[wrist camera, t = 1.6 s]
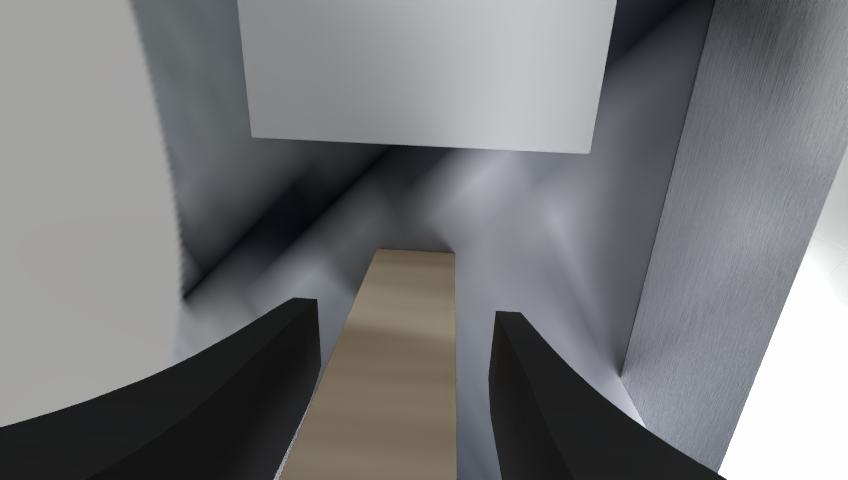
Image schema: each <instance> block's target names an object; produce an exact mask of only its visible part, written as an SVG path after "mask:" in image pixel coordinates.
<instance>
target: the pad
mask: <svg viewBox="0 0 848 480" xmlns="http://www.w3.org/2000/svg"><path fill="white" fill-rule="evenodd" d="M616 3H617V0H237V6H238V15H239V25H240V34H241V43H242V53H243V62H244V72H245V81H246V90H247V100H248V109H249V118H250V128H251V137H252V138H272V139H293V140H313V141H334V142H354V143H375V144H395V145H416V146H436V147H457V148H477V149H498V150H518V151H539V152H559V153H580V154H590V149H591V143H592V138H593V132H594V126H595V121H596V115H597V110H598V104H599V98H600V93H601V87H602V81H603V76H604V70H605V65H606V59H607V53H608V48H609V42H610V36H611V31H612V25H613V20H614V14H615V8H616Z"/></svg>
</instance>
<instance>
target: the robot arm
mask: <svg viewBox="0 0 848 480" xmlns="http://www.w3.org/2000/svg"><path fill="white" fill-rule="evenodd" d="M320 368H321V355H320V338H319V322H318V305H317V299H306V298H292V299H290V300H288V301H286V302H285V303H283V304H281V305H280V306H278V307H276V308H275V309H273V310H271V311H270V312H268V313H267V314H265V315H263V316H262V317H260V318H258V319H257V320H255V321H254V322H252V323H250V324H249V325H247V326H245V327H244V328H242V329H240V330H239V331H237V332H236V333H234V334H232V335H230V336H229V337H227V338H225V339H223V340H221V341H220V342H218V343H216V344H214V345H212V346H210V347H209V348H207V349H205V350H203V351H201V352H200V353H198V354H196V355H194V356H192V357H190V358H188V359H186V360H184V361H182V362H180V363H178V364H176V365H174V366H172V367H169V368H167V369H165V370H163V371H161V372H159V373H156V374H154V375H152V376H150V377H147V378H145V379H143V380H140V381H138V382H135V383H133V384H130V385H127V386H125V387H122V388H119V389H117V390H114V391H112V392H109V393H106V394H104V395H101V396H99V397H96V398H93V399H91V400H88V401H85V402H82V403H79V404H76V405H73V406H70V407H67V408H64V409H61V410H58V411H55V412H52V413H49V414H45V415H42V416H38V417H35V418H32V419H29V420H25V421H22V422H18V423H15V424H12V425H8V426H4V427H0V480H273V479H274V477H275V475H276V473H277V471H278V468H279V466H280V464H281V462H282V460H283V458H284V456H285V454H286V451H287V449H288V447H289V445H290V443H291V441H292V439H293V437H294V435H295V432H296V430H297V428H298V426H299V424H300V422H301V420H302V417H303V415H304V413H305V411H306V409H307V407H308V404H309V402H310V400H311V397H312V393H313V390H314V387H315V384H316V381H317V378H318V374H319V371H320ZM488 379H489V398H490V414H491V420H492V426H493V432H494V437H495V443H496V449H497V454H498V460H499V465H500V471H501V476H502V480H729V479H727V478H725V477H724V476H722V475H720V474H718V473H717V472H715V471H713V470H711V469H710V468H708V467H706V466H704V465H702V464H701V463H699V462H697V461H696V460H694V459H692V458H691V457H689V456H687V455H686V454H684V453H682V452H681V451H679V450H678V449H676V448H674V447H673V446H671V445H670V444H668V443H667V442H665V441H664V440H662V439H661V438H659V437H658V436H656V435H655V434H653V433H652V432H650V431H649V430H647V429H646V428H644V427H643V426H641V425H640V424H639V423H637V422H636V421H634V420H633V419H632V418H630V417H629V416H628V415H626V414H625V413H624V412H622V411H621V410H620V409H619V408H617V407H616V406H615V405H613V404H612V403H611V402H610V401H608V400H607V399H606V398H605V397H603V396H602V395H601V394H600V393H599V392H597V391H596V390H595V389H594V388H593V387H592V386H590V385H589V384H588V383H587V382H586V381H585V380H584V379H583V378H582V377H581V376H580V375H578V374H577V373H576V372H575V371H574V370H573V369H572V368H571V367H570V366H569V365H568V364H567V363H566V362H565V361H564V360H563V359H562V358H561V357H560V356H559V355H558V354H557V353H556V352H555V351H554V350H553V349H552V347H551V346H550V345H549V344H548V343H547V342H546V341H545V340H544V339H543V337H542V336H541V335H540V334H539V333H538V332H537V331H536V329H535V328H534V327H533V326H532V325H531V324H530V323H529V321H528V320H527V319H526V318H525V317H524V316H523V315H522V313H521V312H505V311H496V316H495V324H494V333H493V342H492V351H491V360H490V368H489V377H488Z"/></svg>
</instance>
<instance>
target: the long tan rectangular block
mask: <svg viewBox="0 0 848 480" xmlns="http://www.w3.org/2000/svg"><path fill="white" fill-rule="evenodd" d="M279 480H457V429H456V323H455V253H443V252H426V251H409V250H392V249H376V252H375V254H374V256H373V259H372V261H371V263H370V266H369V268H368V271H367V273H366V275H365V278H364V280H363V282H362V285H361V287H360V289H359V292H358V294H357V296H356V299H355V301H354V303H353V306H352V308H351V311H350V313H349V315H348V318H347V320H346V322H345V325H344V327H343V329H342V332H341V334H340V336H339V339H338V341H337V343H336V346H335V348H334V351H333V353H332V355H331V358H330V360H329V362H328V365H327V367H326V369H325V372H324V374H323V376H322V379H321V381H320V383H319V386H318V388H317V391H316V393H315V395H314V398H313V400H312V402H311V405H310V407H309V409H308V412H307V414H306V416H305V419H304V421H303V423H302V426H301V428H300V431H299V433H298V435H297V438H296V440H295V442H294V445H293V447H292V449H291V452H290V454H289V456H288V459H287V461H286V463H285V466H284V468H283V471H282V473H281V475H280V478H279Z"/></svg>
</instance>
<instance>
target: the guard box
mask: <svg viewBox="0 0 848 480" xmlns="http://www.w3.org/2000/svg"><path fill="white" fill-rule="evenodd" d="M620 379H621V381H622V383H623V385H624V387H625V389H626V391H627V392H628V394H629V396H630V398H631V400H632V402H633V404H634V405H635V407H636V409H637V411H638V413H639V415H640V417H641V418H642V420H643V422H644V424H645V426H646V428H647V430H649V431H650V432H652V433H653V434H655V435H656V436H658V437H659V438H661V439H662V440H664V441H665V442H667V443H668V444H670V445H671V446H673V447H674V448H676V449H678V450H679V451H681V452H682V453H684V454H686V455H687V456H689V457H691V458H692V459H694V460H696V461H697V462H699V463H701V464H702V465H704V466H706V467H708V468H710V469H711V470H713V471H715V472H717V473H718V474H720V475H722V476H724V477H725V478H727V479H729V480H848V0H715V4H714V8H713V12H712V16H711V20H710V24H709V28H708V32H707V36H706V40H705V44H704V48H703V52H702V56H701V60H700V64H699V68H698V72H697V76H696V80H695V84H694V88H693V92H692V96H691V100H690V104H689V108H688V112H687V116H686V120H685V124H684V128H683V132H682V136H681V140H680V143H679V147H678V151H677V155H676V159H675V163H674V167H673V171H672V175H671V179H670V183H669V187H668V191H667V195H666V199H665V203H664V207H663V211H662V215H661V219H660V223H659V227H658V231H657V235H656V239H655V243H654V247H653V251H652V255H651V259H650V263H649V267H648V271H647V275H646V279H645V283H644V287H643V291H642V295H641V299H640V303H639V307H638V311H637V315H636V318H635V322H634V326H633V330H632V334H631V338H630V342H629V346H628V350H627V354H626V358H625V362H624V366H623V370H622V374H621V378H620Z"/></svg>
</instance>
